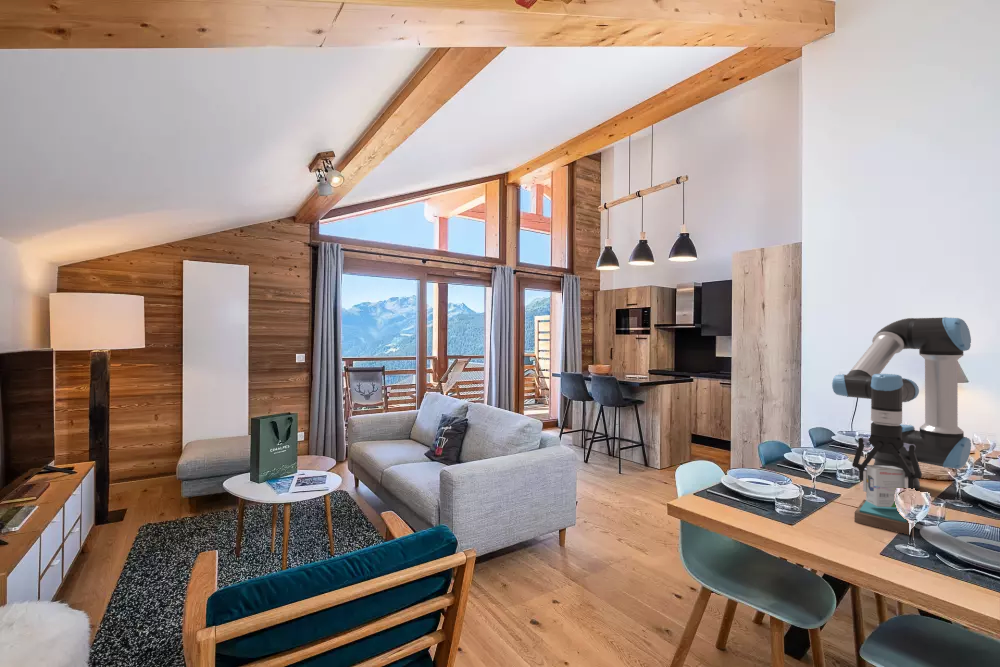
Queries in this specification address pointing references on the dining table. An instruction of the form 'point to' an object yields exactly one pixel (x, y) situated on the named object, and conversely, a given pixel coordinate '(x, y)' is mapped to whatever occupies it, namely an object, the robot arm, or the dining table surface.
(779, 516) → the dining table surface
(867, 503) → the walnut tray
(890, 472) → the ink box
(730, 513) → the dining table surface
